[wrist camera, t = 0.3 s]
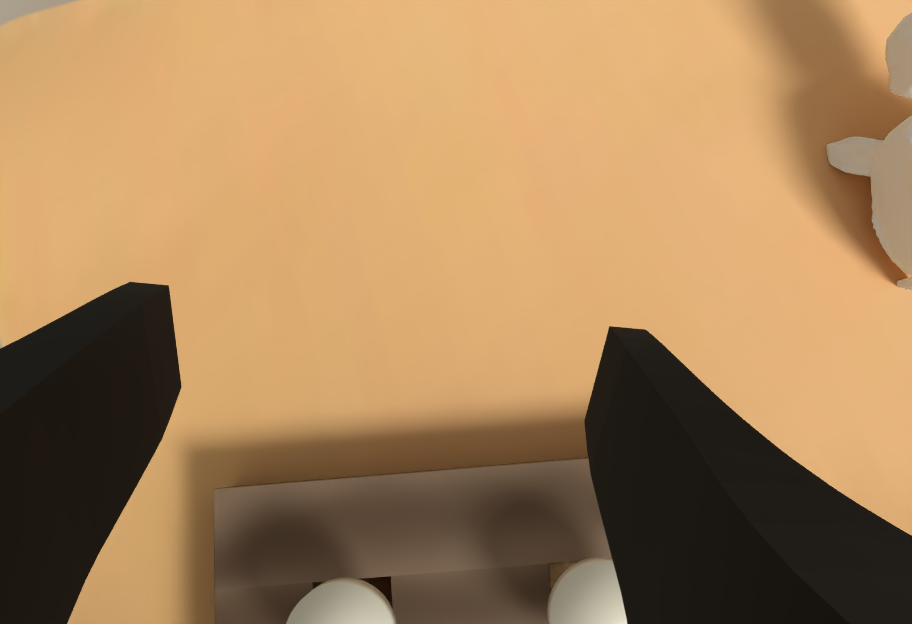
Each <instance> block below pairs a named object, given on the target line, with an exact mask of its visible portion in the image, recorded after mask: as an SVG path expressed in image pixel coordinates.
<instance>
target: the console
mask: <svg viewBox="0 0 912 624" xmlns="http://www.w3.org/2000/svg"><path fill="white" fill-rule="evenodd" d="M594 557H603V558H610V559H612V556H611V552H610V549H609V545H608V541H607V537H606V533H605V529H604V526H603V522H602V518H601V514H600V510H599V506H598V502H597V498H596V494H595V490H594V486H593V482H592V478H591V474H590V466H589V459H588V458H576V459H564V460H552V461H540V462H527V463H515V464H503V465H491V466H478V467H466V468H454V469H441V470H429V471H417V472H405V473H392V474H380V475H368V476H356V477H343V478H331V479H319V480H307V481H294V482H282V483H270V484H258V485H245V486H233V487H226V488H219V489H214V572H215V624H286V623H287V620H288V618H289V616H290V614H291V612H292V610H293V609H294V608H295V606H296V605H297V604H298V603H299V602H300V600H301V599H302V598H303V597H305V596H306V595H307V594H308V593H309V592H311V591H312V590H313V589H314V588H316V587H317V586H319V585H320V584H322V583H324V582H325V581H329V580H332V579H336V578H356V579H362V578H374V577H387V576H391V588H392V605H393V611H394V614H395V617H396V621H397V624H548V618H547V606H548V600H549V595H550V593H551V587H550V577H549V567H548V564H549V563H562V562H574V561H581V560H584V559H588V558H594Z"/></svg>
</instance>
